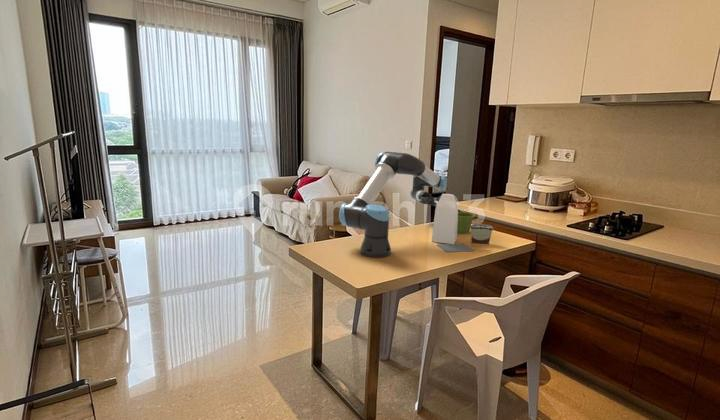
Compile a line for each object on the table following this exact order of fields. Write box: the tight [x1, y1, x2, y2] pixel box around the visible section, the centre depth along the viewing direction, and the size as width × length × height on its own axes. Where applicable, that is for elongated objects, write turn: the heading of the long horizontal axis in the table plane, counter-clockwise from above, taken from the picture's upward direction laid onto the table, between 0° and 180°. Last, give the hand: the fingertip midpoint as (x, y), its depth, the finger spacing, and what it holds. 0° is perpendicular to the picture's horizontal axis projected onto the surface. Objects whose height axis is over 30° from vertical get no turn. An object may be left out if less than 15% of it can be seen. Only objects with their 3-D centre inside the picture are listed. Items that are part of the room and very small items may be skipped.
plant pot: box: [457, 211, 476, 235], centre depth 230 cm, size 12×12×11 cm
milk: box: [431, 193, 459, 244], centre depth 211 cm, size 12×12×26 cm
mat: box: [436, 242, 475, 253], centre depth 201 cm, size 16×12×1 cm
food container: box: [470, 223, 494, 246], centre depth 211 cm, size 12×6×10 cm, turn 84°
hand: (439, 205), depth 219 cm, fingers closed
